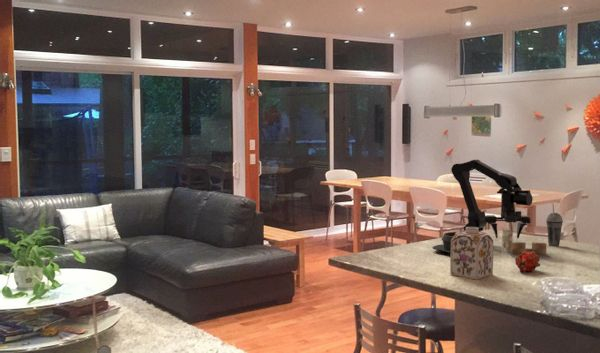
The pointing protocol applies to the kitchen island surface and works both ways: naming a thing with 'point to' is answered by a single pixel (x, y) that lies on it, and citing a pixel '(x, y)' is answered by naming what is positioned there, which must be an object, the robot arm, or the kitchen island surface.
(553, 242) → the beverage cup
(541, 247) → the walnut board
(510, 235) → the upright wooden plank
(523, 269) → the dragon fruit
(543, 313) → the kitchen island surface
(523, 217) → the robot arm
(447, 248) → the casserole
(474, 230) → the decorative jar
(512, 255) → the rubber mat
